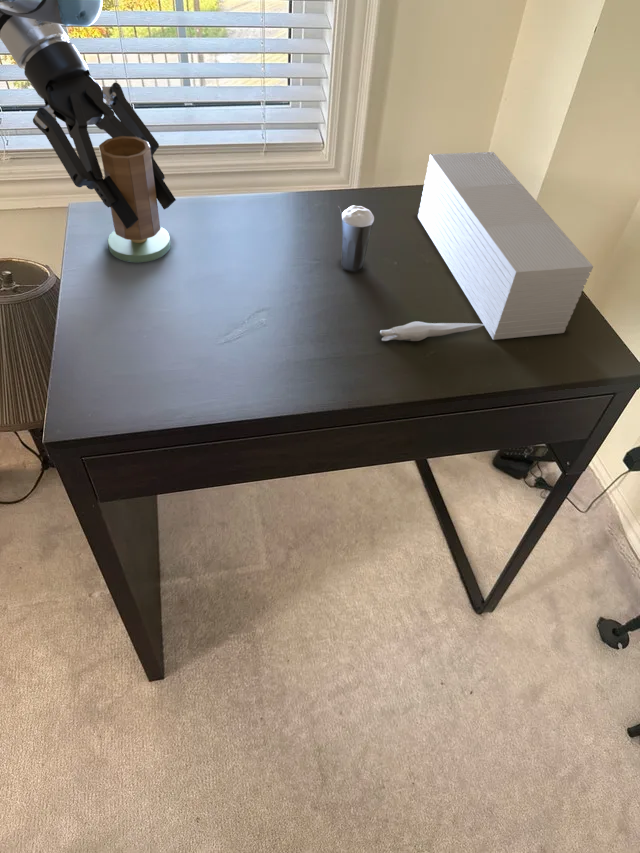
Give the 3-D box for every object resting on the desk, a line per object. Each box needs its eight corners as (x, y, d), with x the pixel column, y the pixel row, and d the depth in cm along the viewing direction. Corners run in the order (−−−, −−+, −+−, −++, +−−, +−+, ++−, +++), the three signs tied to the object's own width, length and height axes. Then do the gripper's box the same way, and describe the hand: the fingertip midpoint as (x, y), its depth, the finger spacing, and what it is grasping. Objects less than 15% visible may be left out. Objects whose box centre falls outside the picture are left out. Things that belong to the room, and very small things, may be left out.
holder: (113, 266, 92) (101, 208, 86) (105, 233, 98) (94, 177, 91) (175, 258, 95) (169, 201, 88) (165, 226, 100) (158, 171, 94)
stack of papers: (417, 217, 107) (430, 153, 99) (476, 214, 109) (493, 151, 101) (492, 340, 86) (516, 272, 79) (563, 333, 89) (593, 266, 81)
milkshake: (328, 260, 97) (333, 198, 90) (361, 256, 98) (369, 194, 91) (337, 277, 94) (343, 214, 87) (371, 272, 95) (380, 210, 88)
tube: (118, 242, 91) (102, 160, 82) (112, 219, 95) (96, 137, 86) (163, 237, 93) (153, 155, 84) (155, 214, 97) (145, 134, 88)
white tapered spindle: (381, 347, 84) (383, 335, 83) (375, 334, 86) (377, 323, 84) (486, 336, 87) (490, 325, 86) (478, 324, 89) (482, 313, 87)
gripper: (-13, 57, 75) (108, 231, 82) (114, 22, 87) (211, 178, 93) (-26, 92, 81) (88, 252, 87) (95, 55, 92) (188, 200, 99)
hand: (151, 214), depth 90 cm, fingers closed on tube, 6 cm apart
